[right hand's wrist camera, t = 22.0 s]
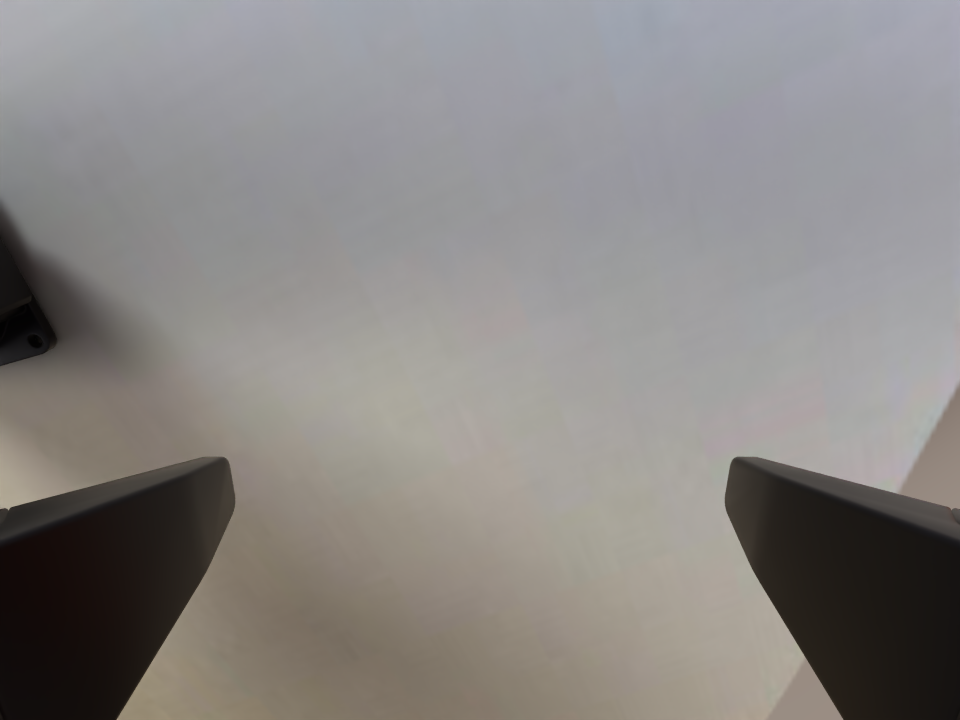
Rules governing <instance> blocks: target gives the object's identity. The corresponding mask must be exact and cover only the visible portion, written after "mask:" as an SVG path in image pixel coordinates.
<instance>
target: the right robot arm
mask: <svg viewBox="0 0 960 720" xmlns="http://www.w3.org/2000/svg"><path fill="white" fill-rule="evenodd" d="M35 335H37V336H39V337H40V338H41V339H42V342H43V344H42V343H40V342H38V341H37V340H36V337H35ZM56 340H57V338H56V336H55V333H54V331H53V330H52V328H51V326H50V324H49V323H48V321H47V319H46V317H45V316H44V314H43V312H42V310H41V309H40V307H39V305H38V303H37V301H36V300H35V298H34V296H33V294H32V293H31V291H30V289H29V287H28V286H27V284H26V282H25V280H24V278H23V277H22V275H21V273H20V271H19V270H18V268H17V266H16V264H15V263H14V261H13V259H12V257H11V256H10V254H9V252H8V250H7V249H6V247H5V245H4V243H3V242H2V240H1V238H0V366H2V365H5V364H9V363H12V362H16V361H19V360H23V359H26V358H30V357H33V356H37V355H40V354H43V353H45V352H47V351H48V350H50V349H52V348H54V346H55V345H56ZM234 507H235V493H234V487H233V481H232V475H231V470H230V464H229V462H228V460H227V459H226V458H224V457H202V458H198V459H194V460H190V461H186V462H183V463H179V464H175V465H171V466H167V467H163V468H160V469H156V470H152V471H148V472H144V473H140V474H137V475H133V476H129V477H125V478H121V479H118V480H114V481H110V482H106V483H102V484H98V485H95V486H91V487H87V488H83V489H79V490H76V491H72V492H68V493H64V494H60V495H56V496H53V497H49V498H45V499H41V500H37V501H33V502H30V503H26V504H22V505H18V506H14V507H11V508H10V509H9V511H8V509H6V508H3V509H0V720H117V718H118V716H119V715H120V713H121V711H122V710H123V708H124V706H125V705H126V703H127V702H128V700H129V698H130V697H131V695H132V693H133V692H134V690H135V688H136V687H137V685H138V684H139V682H140V680H141V679H142V677H143V675H144V674H145V672H146V670H147V669H148V667H149V665H150V664H151V662H152V661H153V659H154V657H155V656H156V654H157V652H158V651H159V649H160V647H161V646H162V644H163V643H164V641H165V639H166V638H167V636H168V634H169V633H170V631H171V629H172V628H173V626H174V624H175V623H176V621H177V620H178V618H179V616H180V615H181V613H182V611H183V610H184V608H185V606H186V605H187V603H188V601H189V600H190V598H191V597H192V595H193V593H194V592H195V590H196V588H197V587H198V585H199V583H200V582H201V580H202V578H203V577H204V575H205V573H206V571H207V569H208V567H209V565H210V563H211V561H212V559H213V557H214V554H215V552H216V550H217V548H218V545H219V543H220V541H221V539H222V536H223V534H224V532H225V530H226V527H227V525H228V523H229V521H230V518H231V516H232V514H233V511H234ZM725 507H726V511H727V514H728V516H729V518H730V521H731V523H732V525H733V527H734V530H735V532H736V534H737V536H738V539H739V541H740V543H741V545H742V548H743V550H744V552H745V554H746V557H747V559H748V561H749V563H750V565H751V567H752V569H753V571H754V573H755V575H756V577H757V578H758V580H759V582H760V583H761V585H762V587H763V588H764V590H765V592H766V593H767V595H768V597H769V598H770V600H771V601H772V603H773V605H774V606H775V608H776V610H777V611H778V613H779V615H780V616H781V618H782V620H783V621H784V623H785V624H786V626H787V628H788V629H789V631H790V633H791V634H792V636H793V638H794V639H795V641H796V642H797V644H798V646H799V647H800V649H801V651H802V652H803V654H804V656H805V657H806V659H807V660H808V662H809V664H810V665H811V667H812V669H813V670H814V672H815V674H816V675H817V677H818V679H819V680H820V682H821V683H822V685H823V687H824V688H825V690H826V692H827V693H828V695H829V697H830V698H831V700H832V702H833V703H834V705H835V706H836V708H837V710H838V711H839V713H840V715H841V716H842V718H843V720H960V509H957V508H954V509H952V511H951V509H950V508H949V507H945V506H942V505H938V504H934V503H930V502H927V501H923V500H919V499H915V498H911V497H907V496H904V495H900V494H896V493H892V492H888V491H885V490H881V489H877V488H873V487H869V486H865V485H862V484H858V483H854V482H850V481H846V480H842V479H839V478H835V477H831V476H827V475H823V474H820V473H816V472H812V471H808V470H804V469H800V468H797V467H793V466H789V465H785V464H781V463H778V462H774V461H770V460H766V459H762V458H758V457H736V458H734V459H733V460H732V462H731V464H730V470H729V476H728V481H727V487H726V493H725Z"/></svg>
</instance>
